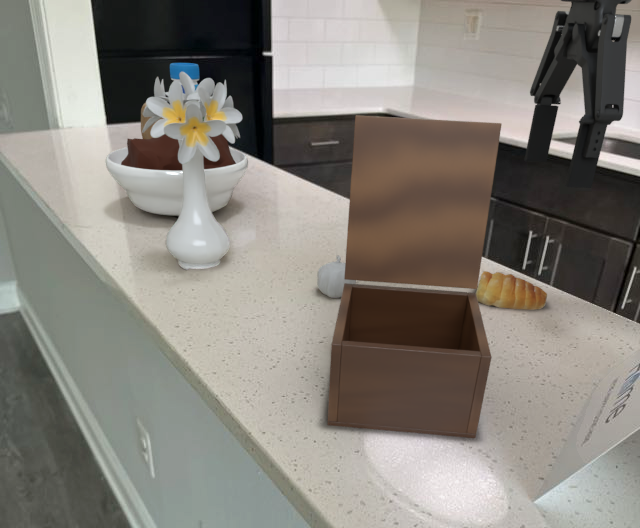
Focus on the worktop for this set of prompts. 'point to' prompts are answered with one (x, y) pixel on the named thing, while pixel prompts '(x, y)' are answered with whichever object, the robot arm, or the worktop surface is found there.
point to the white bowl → (172, 173)
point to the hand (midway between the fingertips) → (555, 173)
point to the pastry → (509, 292)
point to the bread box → (408, 361)
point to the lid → (419, 200)
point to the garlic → (332, 278)
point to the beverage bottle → (188, 68)
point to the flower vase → (194, 162)
